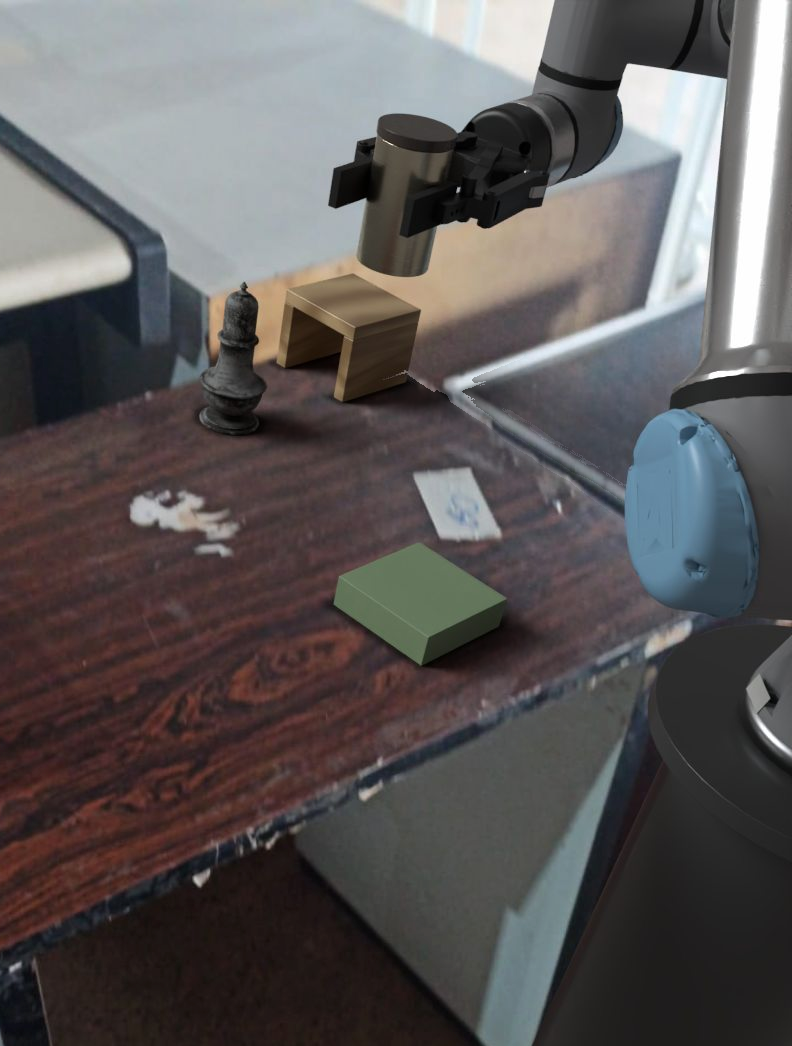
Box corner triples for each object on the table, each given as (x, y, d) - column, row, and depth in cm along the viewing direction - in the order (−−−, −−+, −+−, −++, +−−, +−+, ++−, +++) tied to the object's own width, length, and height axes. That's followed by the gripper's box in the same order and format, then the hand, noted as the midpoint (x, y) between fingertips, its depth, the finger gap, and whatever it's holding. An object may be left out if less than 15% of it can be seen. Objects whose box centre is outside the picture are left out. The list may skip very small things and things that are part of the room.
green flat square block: (499, 626, 97) (507, 598, 95) (421, 666, 92) (428, 637, 90) (412, 569, 101) (419, 541, 99) (333, 604, 96) (338, 575, 94)
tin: (444, 270, 105) (474, 136, 98) (394, 283, 102) (421, 145, 95) (390, 242, 108) (415, 109, 101) (339, 253, 105) (361, 117, 97)
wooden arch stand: (406, 382, 124) (421, 309, 119) (342, 402, 119) (355, 327, 114) (340, 344, 128) (353, 272, 123) (276, 363, 123) (286, 288, 118)
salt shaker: (193, 430, 111) (206, 290, 103) (198, 400, 115) (211, 262, 107) (260, 440, 112) (278, 301, 103) (263, 410, 116) (281, 273, 107)
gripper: (595, 233, 112) (463, 296, 98) (414, 163, 118) (265, 213, 104) (623, 138, 106) (488, 191, 92) (432, 70, 113) (277, 110, 98)
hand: (370, 202), depth 98 cm, fingers closed on tin, 6 cm apart
